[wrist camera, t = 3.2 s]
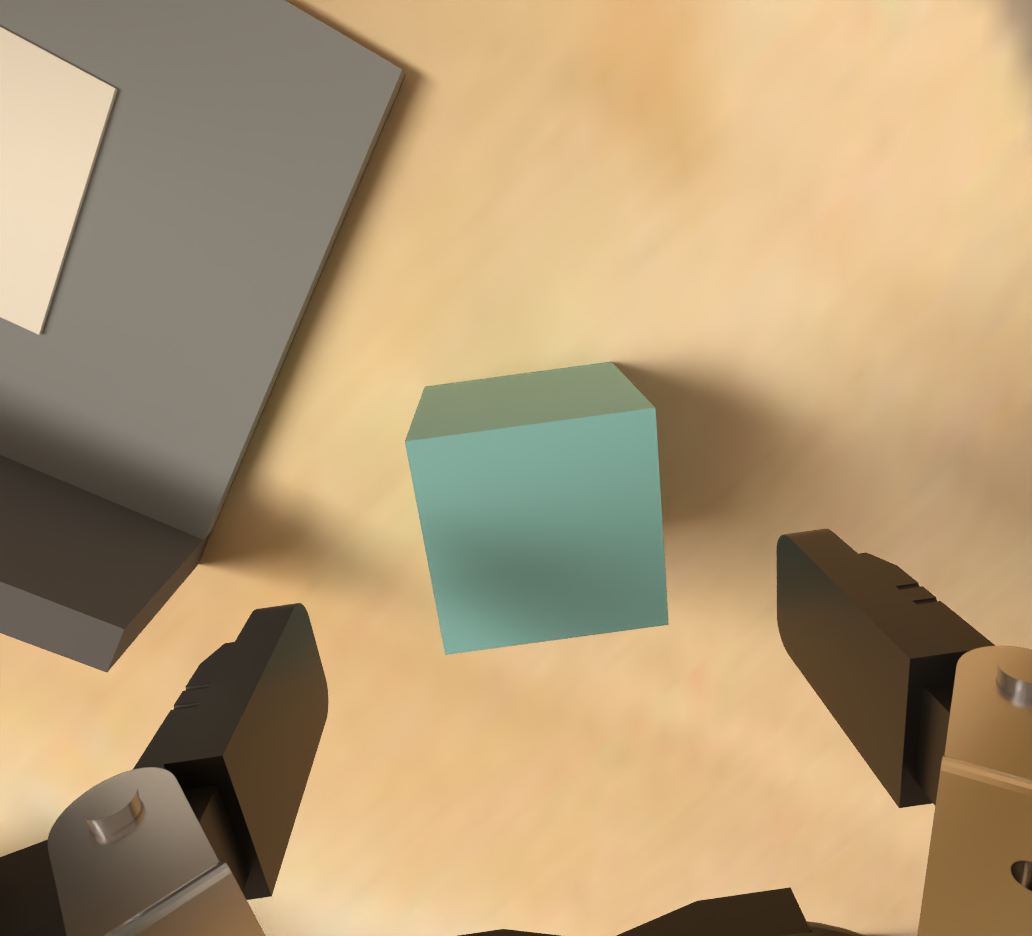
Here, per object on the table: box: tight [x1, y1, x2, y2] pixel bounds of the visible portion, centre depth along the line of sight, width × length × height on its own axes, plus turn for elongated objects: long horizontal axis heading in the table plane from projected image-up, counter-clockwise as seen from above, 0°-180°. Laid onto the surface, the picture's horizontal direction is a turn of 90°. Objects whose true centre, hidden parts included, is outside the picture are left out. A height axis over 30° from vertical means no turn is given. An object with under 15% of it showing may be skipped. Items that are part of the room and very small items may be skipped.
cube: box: [405, 362, 669, 655], centre depth 17 cm, size 5×5×5 cm
